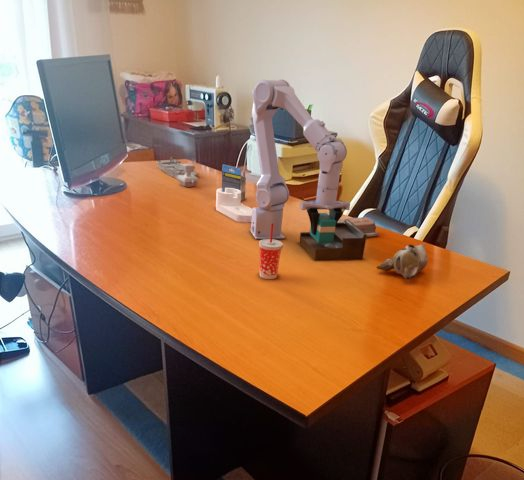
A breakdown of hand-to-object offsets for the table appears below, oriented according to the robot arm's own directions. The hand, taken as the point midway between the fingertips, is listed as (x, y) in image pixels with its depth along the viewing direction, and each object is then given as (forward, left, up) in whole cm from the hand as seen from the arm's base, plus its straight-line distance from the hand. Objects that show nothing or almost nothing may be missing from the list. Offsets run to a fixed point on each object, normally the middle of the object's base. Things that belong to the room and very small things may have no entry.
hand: (321, 233), depth 153 cm
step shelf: (+3, 0, -5) cm, 6 cm away
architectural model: (-31, +100, -6) cm, 105 cm away
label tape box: (-15, +58, -6) cm, 60 cm away
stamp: (-30, +77, -6) cm, 83 cm away
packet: (0, 0, -1) cm, 1 cm away
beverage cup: (-21, -17, -6) cm, 27 cm away
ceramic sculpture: (+18, -19, -6) cm, 27 cm away
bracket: (-18, +38, -6) cm, 42 cm away
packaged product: (+16, +15, -6) cm, 22 cm away
